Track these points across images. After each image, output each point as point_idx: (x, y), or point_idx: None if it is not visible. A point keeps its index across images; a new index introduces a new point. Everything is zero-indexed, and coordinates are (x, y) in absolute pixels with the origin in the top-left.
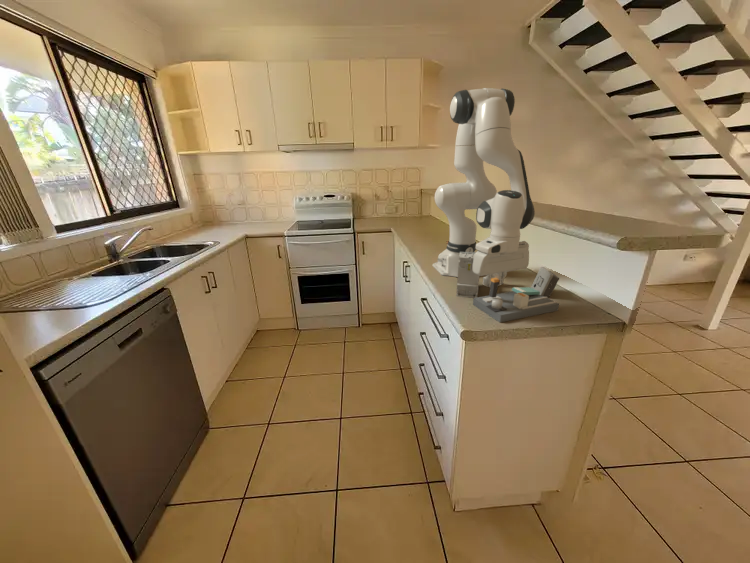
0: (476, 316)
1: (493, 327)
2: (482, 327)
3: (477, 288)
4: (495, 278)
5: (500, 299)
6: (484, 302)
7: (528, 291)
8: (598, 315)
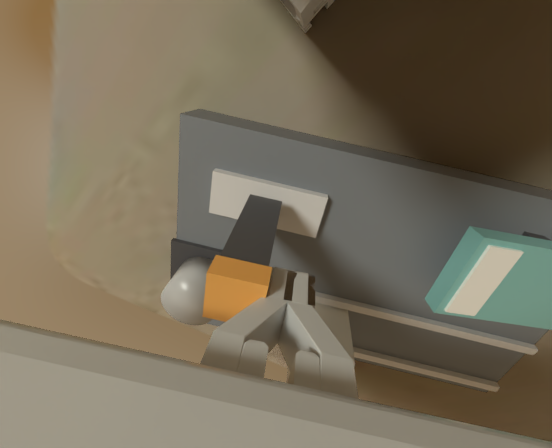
0: (135, 214)
1: (144, 297)
2: (108, 277)
3: (296, 13)
4: (246, 299)
5: None
6: (199, 200)
7: (500, 313)
8: (521, 432)
